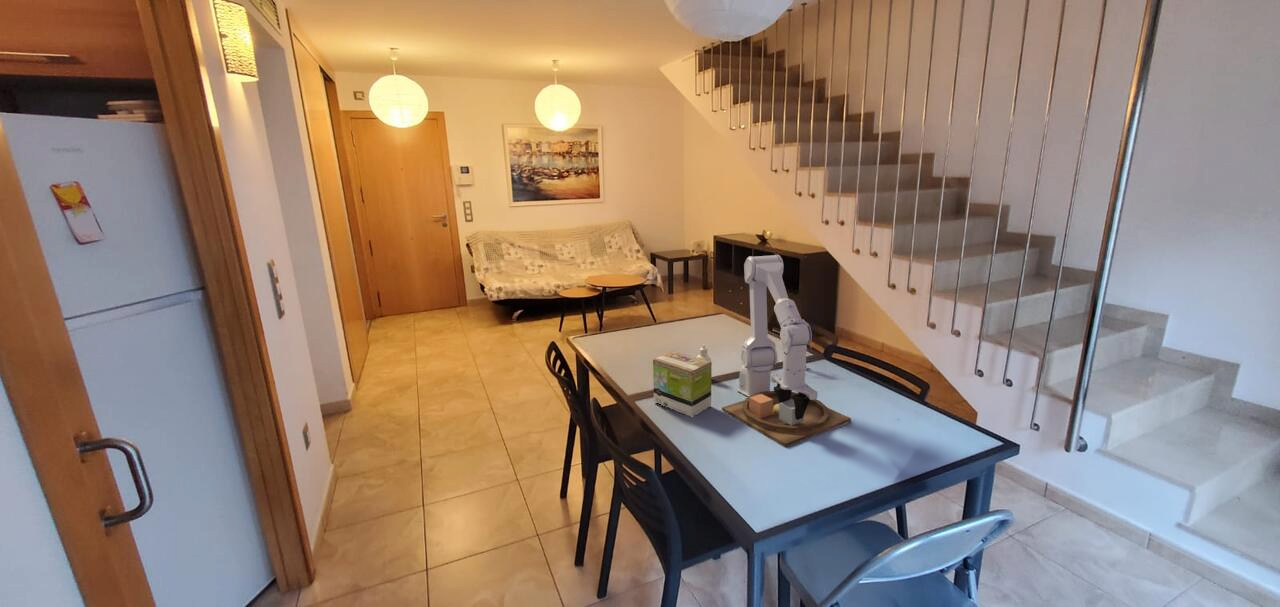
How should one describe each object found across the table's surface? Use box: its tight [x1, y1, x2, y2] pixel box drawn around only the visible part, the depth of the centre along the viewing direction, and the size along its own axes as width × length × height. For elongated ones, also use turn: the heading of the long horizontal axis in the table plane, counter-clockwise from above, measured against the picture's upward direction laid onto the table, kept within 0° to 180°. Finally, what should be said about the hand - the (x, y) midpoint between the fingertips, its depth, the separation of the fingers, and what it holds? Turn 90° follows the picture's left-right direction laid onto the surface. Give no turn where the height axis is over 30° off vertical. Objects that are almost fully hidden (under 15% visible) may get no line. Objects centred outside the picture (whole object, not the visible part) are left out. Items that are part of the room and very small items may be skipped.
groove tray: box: [721, 390, 852, 448], centre depth 146 cm, size 25×25×2 cm
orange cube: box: [749, 394, 773, 419], centre depth 145 cm, size 5×5×5 cm
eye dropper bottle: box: [696, 344, 712, 362], centre depth 173 cm, size 4×6×12 cm
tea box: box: [652, 350, 713, 418], centre depth 153 cm, size 15×10×15 cm
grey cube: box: [779, 399, 804, 425], centre depth 138 cm, size 5×5×5 cm
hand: (791, 414), depth 139 cm, fingers closed on grey cube, 5 cm apart
